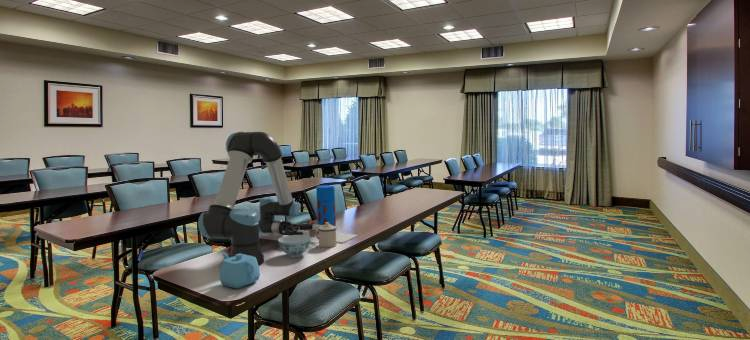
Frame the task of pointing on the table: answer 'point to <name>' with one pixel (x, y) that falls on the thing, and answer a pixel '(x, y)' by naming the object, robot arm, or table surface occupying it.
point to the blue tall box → (326, 205)
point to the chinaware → (294, 244)
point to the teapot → (239, 270)
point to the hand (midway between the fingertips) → (316, 231)
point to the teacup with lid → (326, 235)
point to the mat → (344, 237)
